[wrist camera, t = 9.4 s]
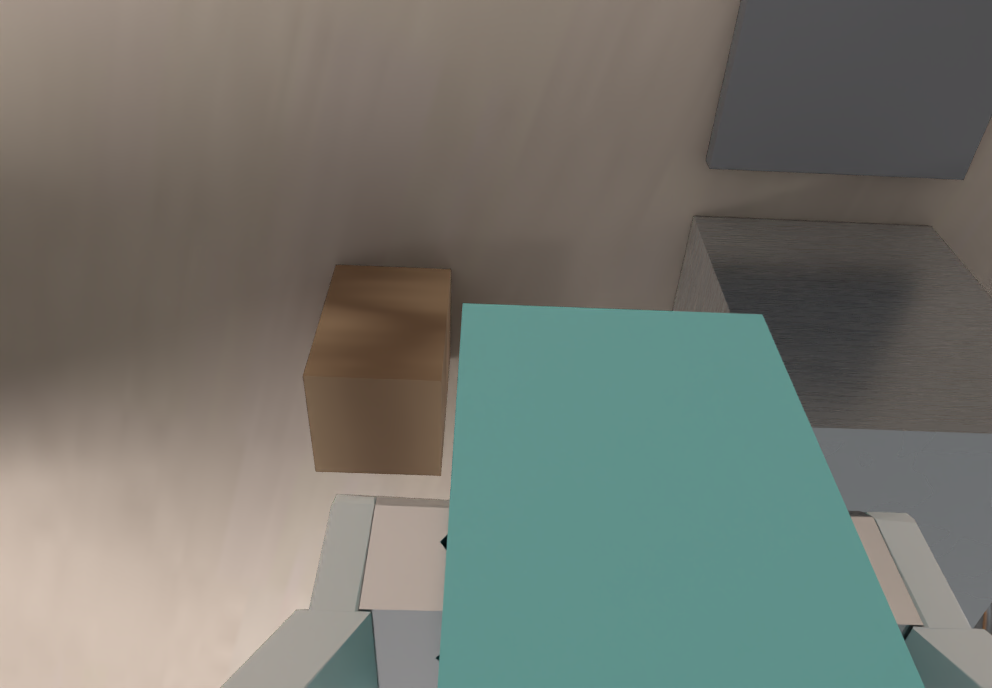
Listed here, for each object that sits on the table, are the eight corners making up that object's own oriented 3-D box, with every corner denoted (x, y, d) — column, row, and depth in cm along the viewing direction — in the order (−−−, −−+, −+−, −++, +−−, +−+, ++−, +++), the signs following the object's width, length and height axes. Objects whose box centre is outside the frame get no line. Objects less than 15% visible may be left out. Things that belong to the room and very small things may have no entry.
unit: (648, 396, 32) (697, 622, 24) (687, 216, 27) (764, 425, 19) (862, 404, 32) (981, 630, 24) (940, 226, 27) (1121, 438, 19)
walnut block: (344, 354, 31) (315, 471, 26) (336, 264, 28) (302, 375, 23) (450, 357, 31) (440, 475, 26) (451, 268, 28) (441, 381, 23)
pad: (705, 160, 26) (709, 168, 25) (760, -87, 21) (766, -82, 21) (954, 171, 26) (963, 179, 25) (1059, -71, 21) (1071, -67, 21)
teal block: (458, 504, 13) (434, 948, 8) (462, 303, 11) (432, 769, 6) (702, 512, 13) (815, 955, 9) (762, 314, 11) (966, 784, 6)
